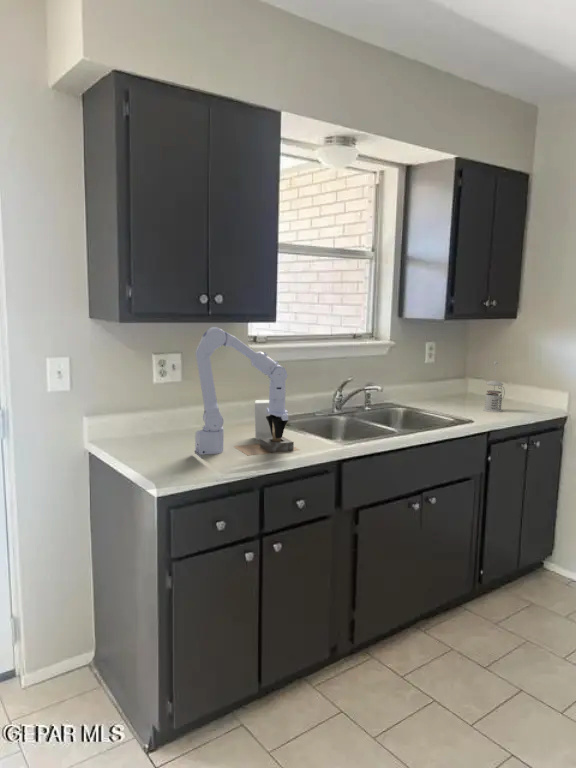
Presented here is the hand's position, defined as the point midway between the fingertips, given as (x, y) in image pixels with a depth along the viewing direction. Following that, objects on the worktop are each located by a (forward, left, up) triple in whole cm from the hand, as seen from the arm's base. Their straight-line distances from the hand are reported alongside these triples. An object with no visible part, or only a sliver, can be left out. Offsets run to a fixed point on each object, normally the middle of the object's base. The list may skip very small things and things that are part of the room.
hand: (276, 436), depth 210 cm
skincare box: (+3, +17, -6) cm, 18 cm away
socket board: (-3, +2, -6) cm, 7 cm away
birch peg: (0, 0, -2) cm, 2 cm away
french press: (+137, +35, -6) cm, 142 cm away
